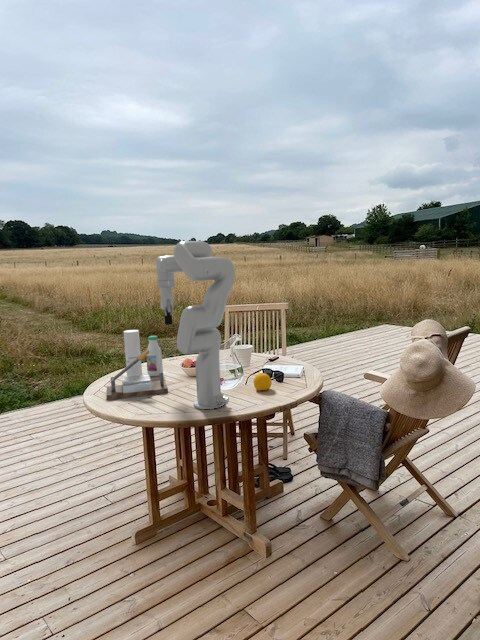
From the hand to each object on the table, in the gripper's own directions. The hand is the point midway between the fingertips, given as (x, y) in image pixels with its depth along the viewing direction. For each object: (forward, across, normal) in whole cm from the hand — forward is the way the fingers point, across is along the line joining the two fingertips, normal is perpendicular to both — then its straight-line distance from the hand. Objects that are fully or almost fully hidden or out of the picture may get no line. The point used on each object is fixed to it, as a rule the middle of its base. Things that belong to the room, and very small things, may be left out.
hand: (168, 324), depth 206 cm
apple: (+29, +21, +37) cm, 52 cm away
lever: (+17, +3, -18) cm, 25 cm away
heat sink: (+27, +3, -16) cm, 31 cm away
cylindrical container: (+29, -14, -16) cm, 36 cm away
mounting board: (+29, +3, -16) cm, 33 cm away
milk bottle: (+29, -23, -6) cm, 38 cm away
